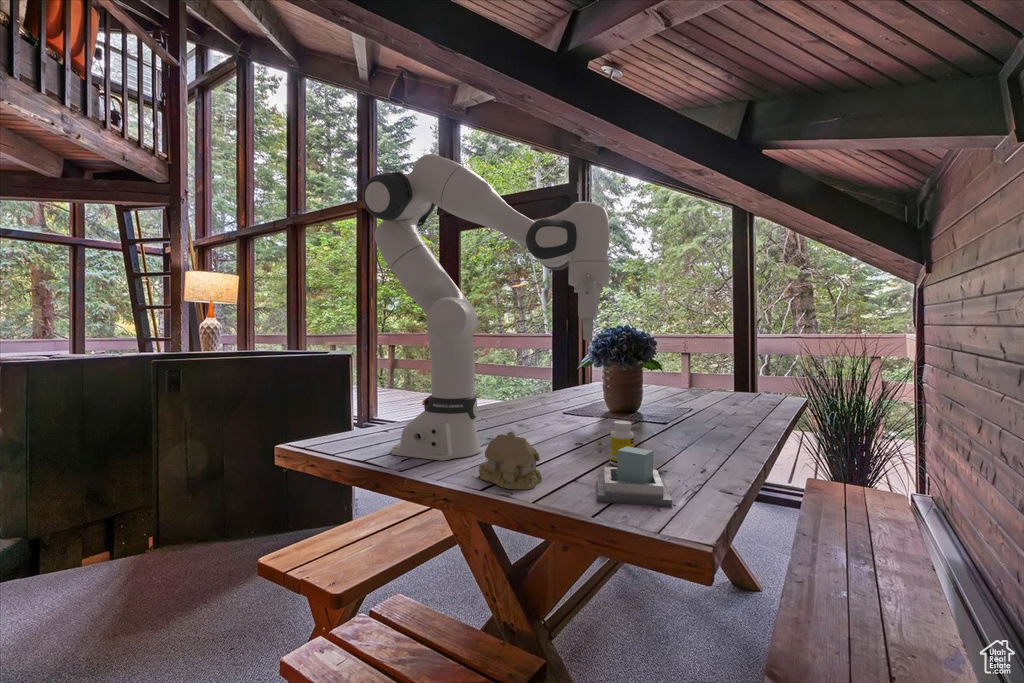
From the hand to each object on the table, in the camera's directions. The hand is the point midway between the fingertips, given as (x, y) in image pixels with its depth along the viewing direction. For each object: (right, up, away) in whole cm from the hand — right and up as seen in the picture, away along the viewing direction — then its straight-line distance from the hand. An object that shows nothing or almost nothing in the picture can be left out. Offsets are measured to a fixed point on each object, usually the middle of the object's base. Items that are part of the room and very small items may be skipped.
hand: (587, 339), depth 107 cm
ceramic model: (-17, -30, -6) cm, 35 cm away
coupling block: (+7, -28, -14) cm, 32 cm away
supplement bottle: (+9, -29, +6) cm, 31 cm away
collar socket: (+6, -29, -14) cm, 33 cm away
